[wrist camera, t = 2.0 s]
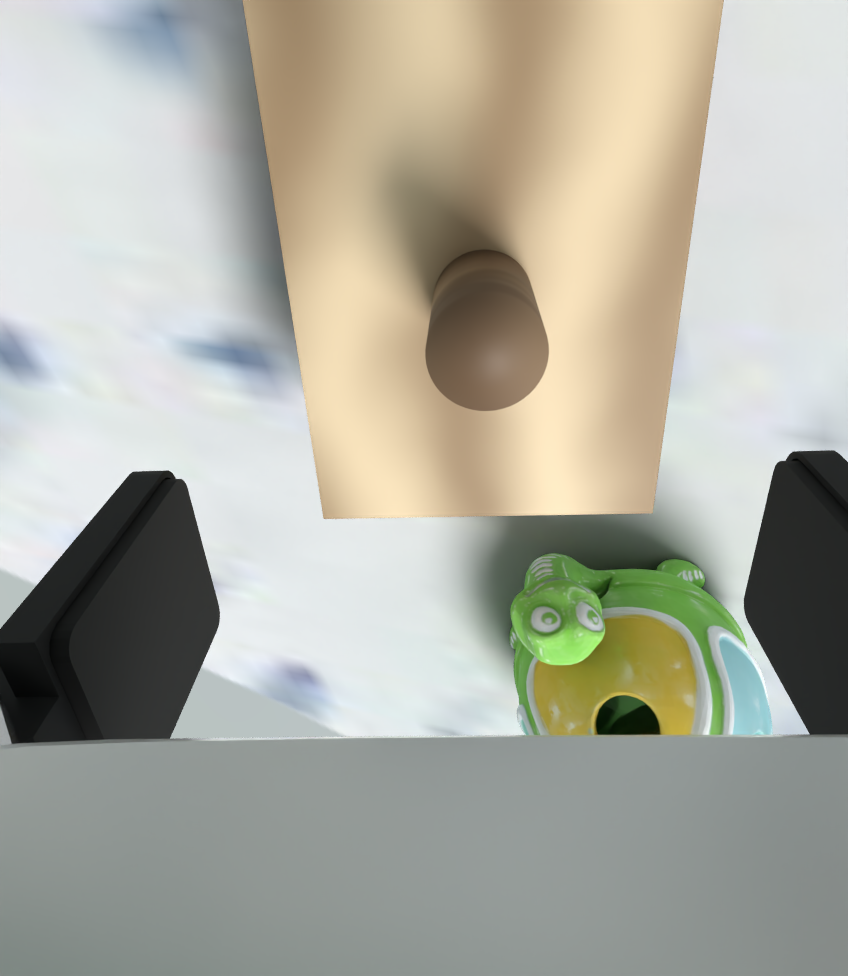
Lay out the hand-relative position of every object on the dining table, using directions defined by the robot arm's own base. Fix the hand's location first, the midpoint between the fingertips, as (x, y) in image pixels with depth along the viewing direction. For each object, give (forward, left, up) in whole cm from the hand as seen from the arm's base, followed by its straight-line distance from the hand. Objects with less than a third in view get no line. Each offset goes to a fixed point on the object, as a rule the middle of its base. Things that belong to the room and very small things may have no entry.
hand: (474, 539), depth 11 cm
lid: (0, 0, -14) cm, 14 cm away
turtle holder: (-7, +21, -21) cm, 31 cm away
